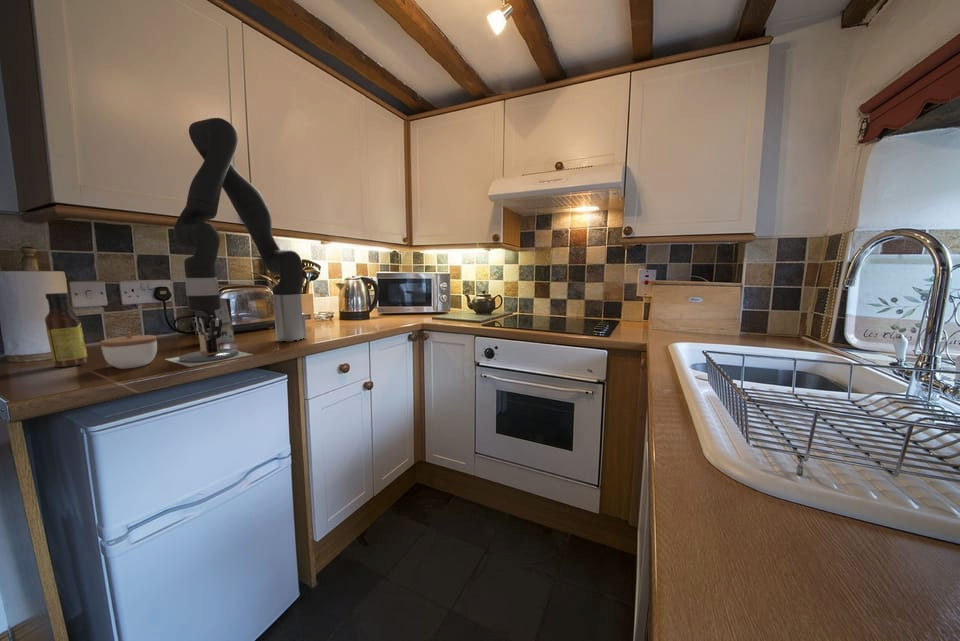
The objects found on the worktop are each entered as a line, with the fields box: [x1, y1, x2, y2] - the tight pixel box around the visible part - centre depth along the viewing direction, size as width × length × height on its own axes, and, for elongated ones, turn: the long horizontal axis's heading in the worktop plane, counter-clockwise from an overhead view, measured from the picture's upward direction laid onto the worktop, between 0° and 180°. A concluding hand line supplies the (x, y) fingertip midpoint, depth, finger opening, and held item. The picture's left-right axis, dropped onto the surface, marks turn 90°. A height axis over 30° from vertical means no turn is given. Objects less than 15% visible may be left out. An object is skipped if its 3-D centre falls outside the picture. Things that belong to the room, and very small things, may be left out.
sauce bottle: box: [44, 292, 88, 368], centre depth 94 cm, size 7×6×20 cm
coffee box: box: [215, 297, 235, 345], centre depth 126 cm, size 9×6×16 cm
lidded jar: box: [99, 331, 158, 370], centre depth 94 cm, size 11×11×9 cm
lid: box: [178, 334, 240, 363], centre depth 103 cm, size 14×14×7 cm
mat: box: [164, 351, 254, 367], centre depth 104 cm, size 16×16×1 cm
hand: (209, 351), depth 103 cm, fingers closed on lid, 3 cm apart
